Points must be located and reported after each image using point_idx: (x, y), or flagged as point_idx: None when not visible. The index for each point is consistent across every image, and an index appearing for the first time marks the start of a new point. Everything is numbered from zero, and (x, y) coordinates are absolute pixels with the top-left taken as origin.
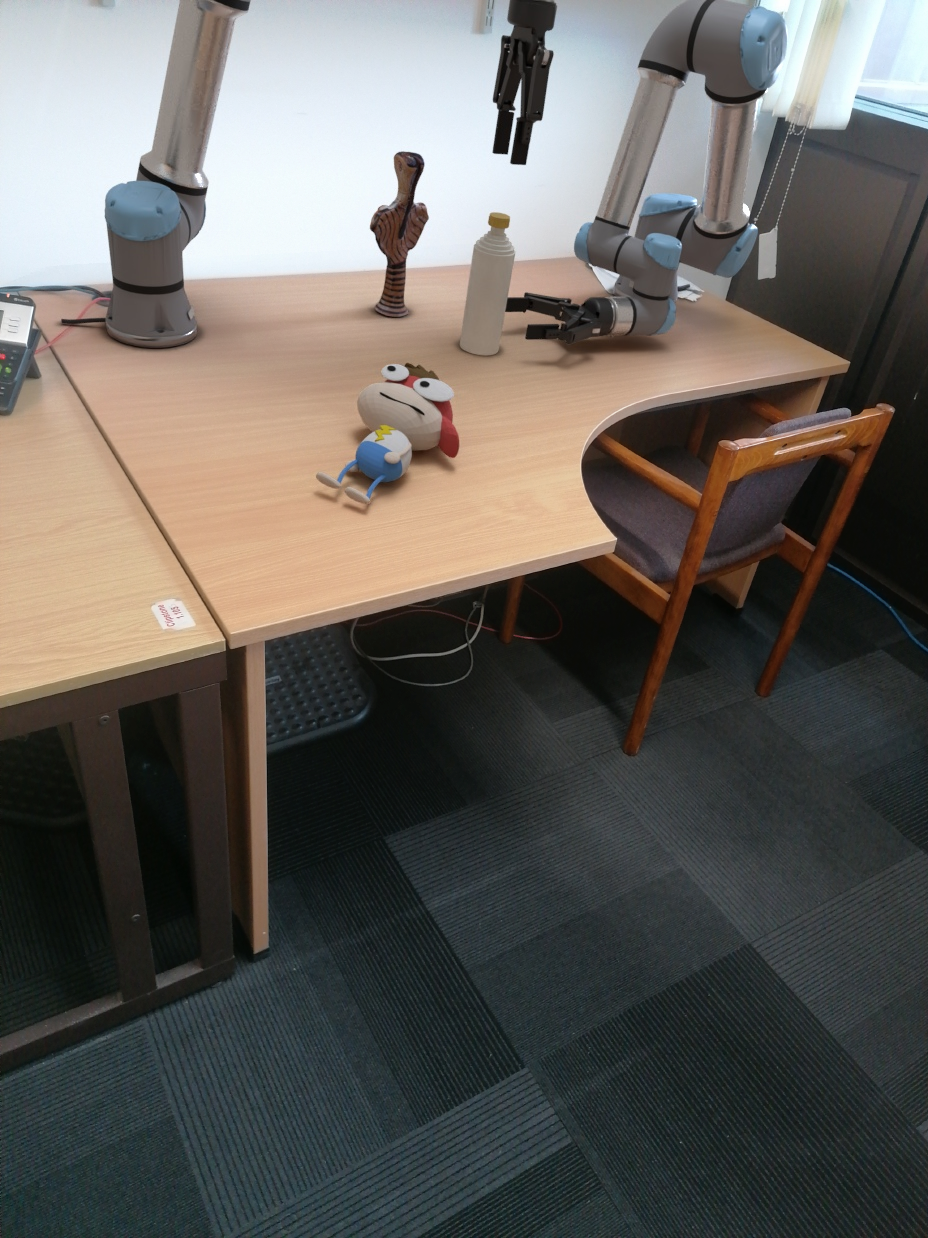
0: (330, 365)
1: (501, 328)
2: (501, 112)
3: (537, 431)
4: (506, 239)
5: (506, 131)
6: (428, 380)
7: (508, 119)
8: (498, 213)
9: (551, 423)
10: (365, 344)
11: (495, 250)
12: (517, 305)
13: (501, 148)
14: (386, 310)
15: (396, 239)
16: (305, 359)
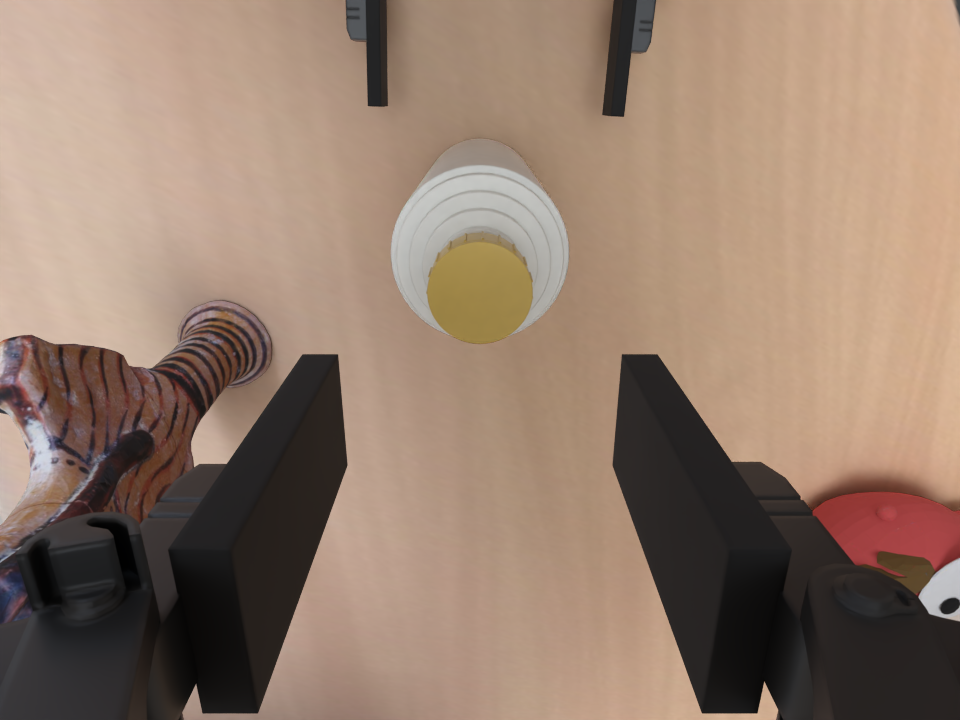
0: (532, 569)
1: (525, 163)
2: (261, 693)
3: (945, 273)
4: (511, 233)
5: (300, 484)
6: (939, 594)
7: (272, 556)
8: (447, 286)
9: (929, 217)
10: (435, 474)
11: (551, 295)
12: (383, 23)
13: (338, 435)
14: (254, 374)
15: (159, 450)
16: (498, 602)
